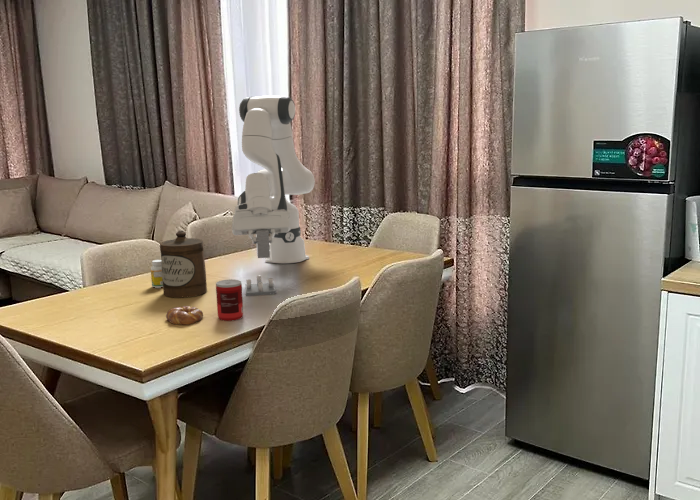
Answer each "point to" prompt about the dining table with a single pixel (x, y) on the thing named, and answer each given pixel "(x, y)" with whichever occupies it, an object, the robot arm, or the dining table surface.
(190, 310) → the pretzel
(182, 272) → the wooden container
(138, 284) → the dining table surface
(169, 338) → the dining table surface
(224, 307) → the canned food
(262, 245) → the block
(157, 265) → the supplement bottle
